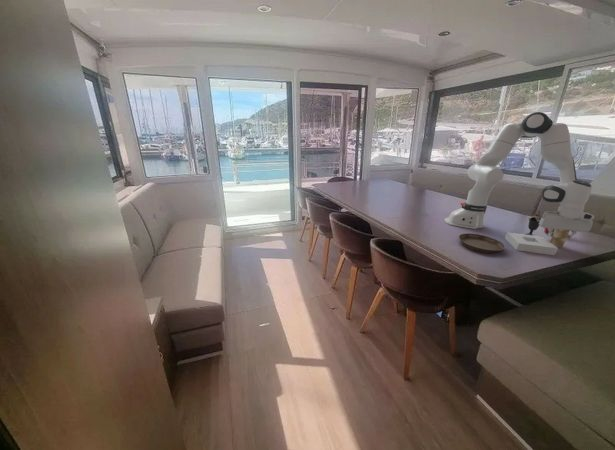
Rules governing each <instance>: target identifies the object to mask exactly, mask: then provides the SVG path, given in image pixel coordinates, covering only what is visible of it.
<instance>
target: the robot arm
mask: <svg viewBox="0 0 615 450" xmlns="http://www.w3.org/2000/svg"><path fill="white" fill-rule="evenodd" d="M535 137H538V138H539V140H540V155H541V158H542V159H543V160H544V161H545V162H548V163H549V164H551V165H553V166H555V167H556V168H557V171H558V174H559V175H558V176H559V183H558V184H551V185H547V186H545V187H543V188H542V190H541V195H540V196H541V199H543V201H545V202H547V203H559V206H558V208H557V211H556V210H555V211H554V210H553V211H552V210H547V211H544V212H543V213H542V217H540V218H541V220H540V222H539V227H541V228H543V229H544V228H548V231H549V234H547V235H548V236H549V237H552V236H553V235H554V233H552V231H551V230H553V229H563V230H570V231H569V233H568V236H567V238H566V239H572V237H573V236H575V235H576V234H577V232H579V233H580V232H581V233H589V232H590V231H591V229H592V227H593V224H594V221H593V220H594V219H595V215H593V214H591V213H589V212H587V211H585V205H586V203H587V202H588V201H589V199H590V197H591V194H592V188H593V187H592V184H590V183H588V182H586V181H582V180H578V179H577V171H576V164H575V160H574V157H573V154H572V150H571V135H570V130H569V127H568V125H567V124H566V123H563V122H556V123H554V121H553V120H552V119H551V118H550V117H549V116H548V115H547V114H546V113H545V112H543V111H535V112H531V113H529V114H528V115H527V116H526V117H524V119H523V120H522V122H520V123H515V122H510V123H506V124H505V125H503V126H502V128H501V129H500V130H499V131H498V132H497V134H496V135H495V137H494V139H493V140H492V141H491V143H490V145H489V146H488V148H487V150H486V151H485V153H484V154H483V155H482V156H481V157H480V158H479V159H478V160H477V161H476V162H475V163H474V164H472V165H470V167H468V169H467V171H466V173H467V176H468V178H469V179H471V180H473V181H474V182H475V184H474V186H473V187H472V188H471V189H469V191H468V192H467V193H468V194H467V198H466V202H463V201H461V202H460V203H459V204H460V206H461V207H460V208H458V209H457V208H456V210H453V211H451V213H449V216H448V217H445V218H444V223H446V224H447V225H450V226H453V227H454V226H455V227H460V228H461V227H462V228H466V229H467V228H468V229H472V230H477V229H480V228H484V218H485V213H486V211H487V208H488V206H487V203H488V200H489V197H490V194H491V192H492V190H493V189H494V187H496V186H497V185H498V184H499V183H500V182H502V180H503V179H504V172H503V170H502V169H501V168H498V167H497V166H498V165H499V164H500V163H501V162H503V161H505V160H506V159H507V157H509V154H510V153H511V151H512V150H513V148H514V147H515V145H516V143H517V142H518V141H519V139H520V138H521V139H522V138H525V139H527V138H528V139H529V138H531V139H532V138H535Z"/></svg>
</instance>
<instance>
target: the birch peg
mask: <svg viewBox="0 0 615 450" xmlns="http://www.w3.org/2000/svg"><path fill="white" fill-rule="evenodd" d="M570 232H571V231H570V230H563V229H555V230H554V235H553V236H551V238H550V240H549V242H550V243H552V244H553V245H554V246H556V247H557V248H561V249H562V248H563V247H564V246H565V243H566V240H567V239H568V238H567V236H568V234H570Z"/></svg>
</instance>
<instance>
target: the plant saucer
mask: <svg viewBox="0 0 615 450" xmlns="http://www.w3.org/2000/svg"><path fill="white" fill-rule="evenodd" d="M458 239H459V241H460V242H461V244H462V245H463V246H464V247H465V248H467V249H470V250H473V251H475V250H476V252H480V253H484V252H485V254H495V253H499V252H501V251H502V250H504V249H505V244H504V243H502V241H499V240H497V239H496V238H493V237H490V236H486V235H483V234H478V233H460V234H459V235H458Z"/></svg>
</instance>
